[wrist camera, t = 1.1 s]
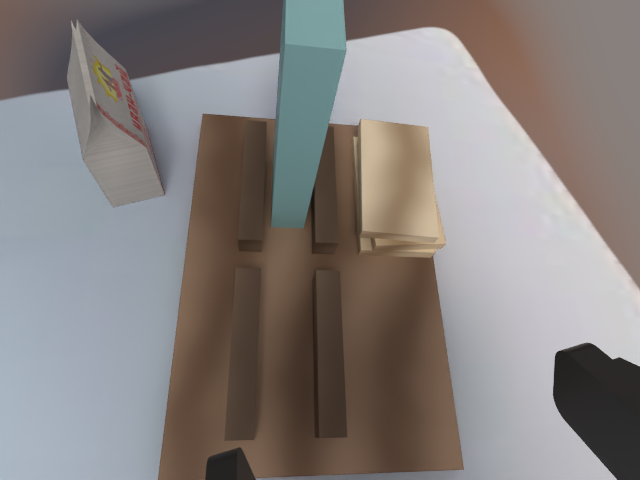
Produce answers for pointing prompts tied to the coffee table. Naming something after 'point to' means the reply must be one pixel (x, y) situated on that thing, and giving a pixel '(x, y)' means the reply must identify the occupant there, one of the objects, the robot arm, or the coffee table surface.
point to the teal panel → (304, 102)
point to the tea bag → (110, 124)
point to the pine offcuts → (394, 191)
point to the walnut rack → (300, 328)
